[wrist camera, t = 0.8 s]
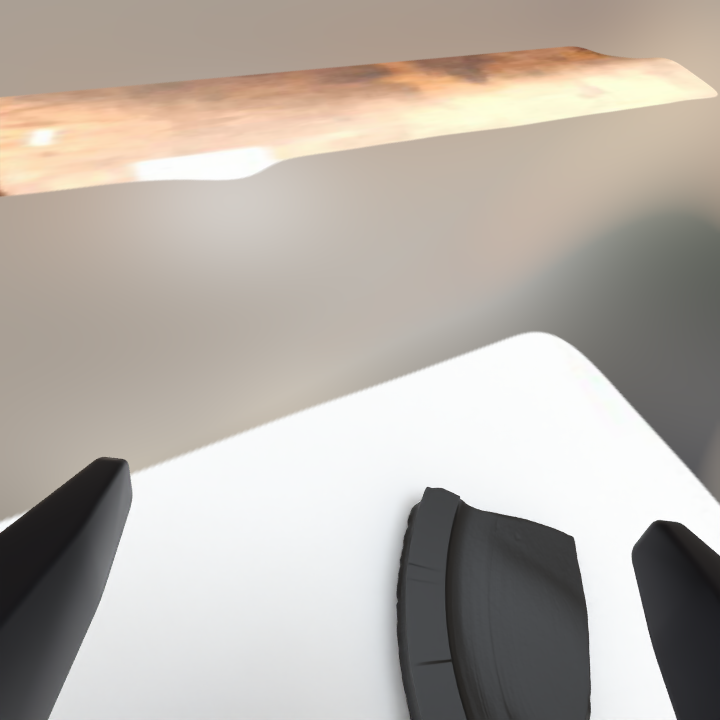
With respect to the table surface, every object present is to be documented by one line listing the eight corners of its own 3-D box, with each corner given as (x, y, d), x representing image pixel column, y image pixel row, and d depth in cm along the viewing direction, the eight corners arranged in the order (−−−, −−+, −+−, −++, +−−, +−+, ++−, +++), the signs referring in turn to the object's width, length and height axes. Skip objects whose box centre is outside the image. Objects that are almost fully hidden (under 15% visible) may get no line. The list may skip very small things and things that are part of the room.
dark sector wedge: (350, 874, 17) (359, 883, 16) (410, 495, 25) (419, 481, 24) (594, 941, 17) (623, 956, 16) (571, 541, 26) (589, 530, 24)
